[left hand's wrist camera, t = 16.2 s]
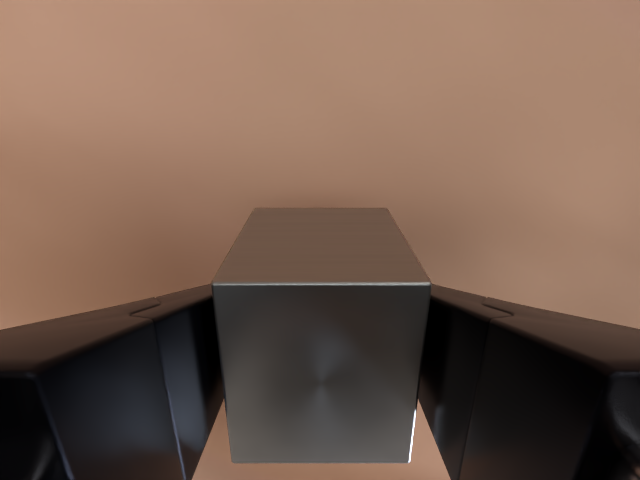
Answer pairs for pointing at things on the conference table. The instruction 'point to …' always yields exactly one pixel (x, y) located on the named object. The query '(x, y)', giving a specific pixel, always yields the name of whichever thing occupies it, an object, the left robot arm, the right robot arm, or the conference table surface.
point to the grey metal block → (321, 337)
